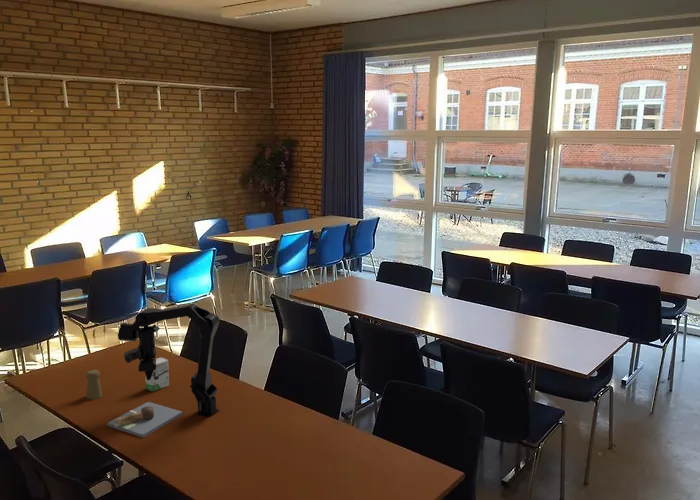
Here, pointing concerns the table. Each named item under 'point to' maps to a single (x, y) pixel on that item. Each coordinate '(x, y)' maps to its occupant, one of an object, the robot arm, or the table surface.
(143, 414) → the peg lever
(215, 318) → the robot arm
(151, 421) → the board
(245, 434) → the table surface
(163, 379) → the ink box
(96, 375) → the cork
